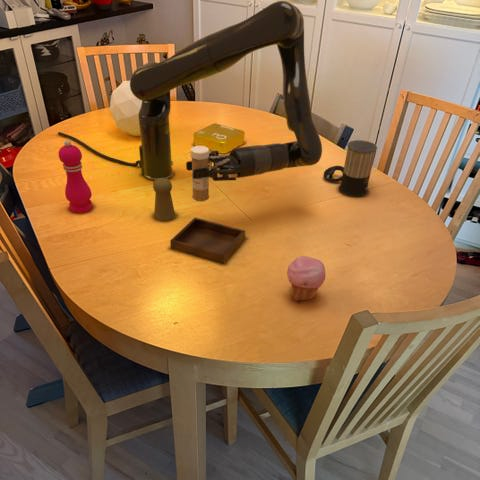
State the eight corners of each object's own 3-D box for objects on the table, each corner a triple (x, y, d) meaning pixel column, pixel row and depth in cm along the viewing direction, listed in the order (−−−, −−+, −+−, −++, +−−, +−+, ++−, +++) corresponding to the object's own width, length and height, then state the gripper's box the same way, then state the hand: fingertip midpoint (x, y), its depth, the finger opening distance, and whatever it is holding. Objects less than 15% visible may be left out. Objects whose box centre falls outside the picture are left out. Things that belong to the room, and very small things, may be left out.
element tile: (246, 142, 180) (246, 129, 177) (224, 155, 170) (224, 141, 167) (214, 133, 186) (214, 121, 183) (191, 145, 176) (191, 132, 173)
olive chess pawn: (171, 222, 133) (169, 186, 126) (151, 219, 134) (147, 183, 127) (177, 212, 138) (175, 176, 131) (158, 209, 139) (155, 174, 131)
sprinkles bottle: (188, 198, 125) (186, 148, 116) (200, 192, 128) (199, 143, 119) (201, 204, 123) (200, 153, 114) (213, 198, 125) (212, 148, 116)
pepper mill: (98, 204, 140) (86, 137, 126) (85, 215, 134) (70, 147, 121) (77, 200, 141) (63, 133, 128) (63, 211, 136) (47, 142, 123)
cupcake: (283, 283, 114) (288, 248, 107) (319, 285, 114) (325, 250, 107) (285, 306, 107) (290, 271, 101) (323, 308, 107) (330, 273, 101)
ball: (131, 147, 190) (120, 96, 188) (175, 133, 184) (165, 80, 181) (105, 137, 172) (93, 81, 170) (153, 122, 166) (141, 63, 164)
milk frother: (364, 199, 148) (375, 153, 138) (316, 190, 152) (323, 144, 142) (371, 181, 158) (381, 137, 148) (325, 173, 162) (332, 129, 152)
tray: (170, 248, 123) (170, 240, 122) (195, 225, 133) (194, 217, 131) (223, 264, 119) (224, 255, 117) (245, 238, 128) (245, 230, 127)
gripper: (240, 137, 127) (180, 145, 121) (263, 157, 117) (199, 167, 112) (239, 164, 132) (181, 172, 126) (261, 185, 122) (199, 196, 117)
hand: (190, 170), depth 119 cm, fingers closed on sprinkles bottle, 4 cm apart
